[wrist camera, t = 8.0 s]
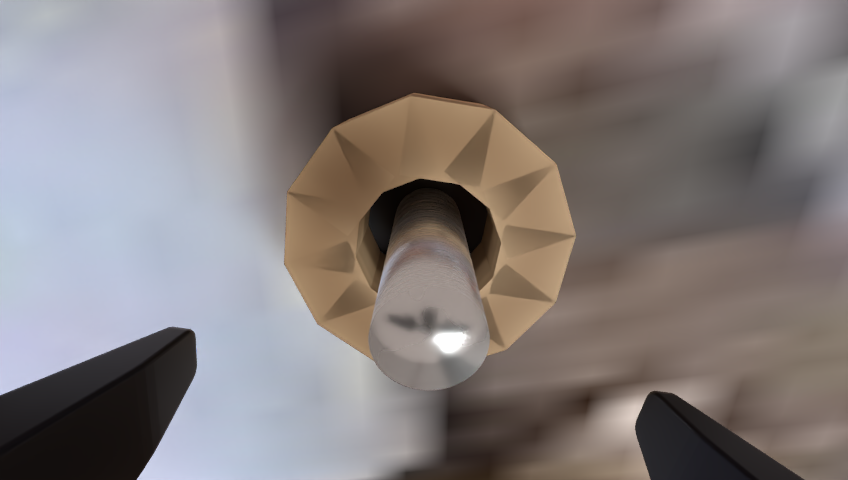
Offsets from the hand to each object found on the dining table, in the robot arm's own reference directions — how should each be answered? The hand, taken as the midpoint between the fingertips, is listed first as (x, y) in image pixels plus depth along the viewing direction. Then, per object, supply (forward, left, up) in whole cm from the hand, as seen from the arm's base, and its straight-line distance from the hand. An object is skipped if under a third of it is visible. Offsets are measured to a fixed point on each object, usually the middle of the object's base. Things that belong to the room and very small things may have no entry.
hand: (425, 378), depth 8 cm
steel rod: (0, 0, -11) cm, 11 cm away
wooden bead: (0, 0, -10) cm, 10 cm away
